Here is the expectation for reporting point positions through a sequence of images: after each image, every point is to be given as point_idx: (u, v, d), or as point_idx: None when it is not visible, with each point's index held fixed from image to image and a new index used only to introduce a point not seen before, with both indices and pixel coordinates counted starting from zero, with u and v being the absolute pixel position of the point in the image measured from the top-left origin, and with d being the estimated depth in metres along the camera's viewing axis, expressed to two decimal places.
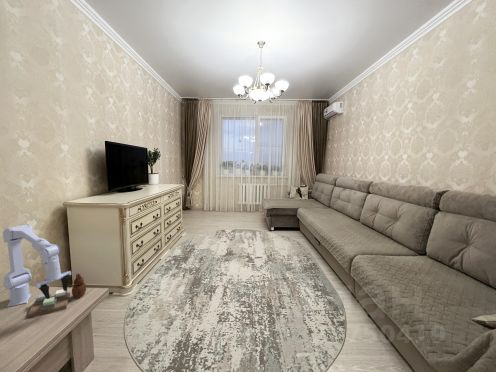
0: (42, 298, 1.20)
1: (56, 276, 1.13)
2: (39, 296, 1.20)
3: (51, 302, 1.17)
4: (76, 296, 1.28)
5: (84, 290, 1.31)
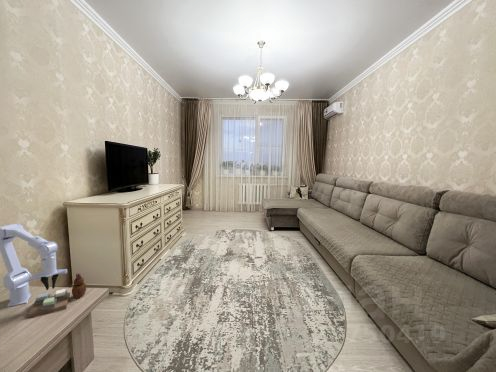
0: (42, 298, 1.20)
1: (47, 273, 1.18)
2: (39, 296, 1.20)
3: (51, 302, 1.17)
4: (76, 296, 1.28)
5: (84, 290, 1.31)
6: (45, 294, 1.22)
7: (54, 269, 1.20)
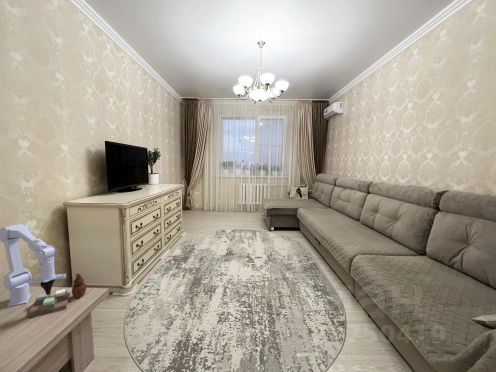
0: (42, 298, 1.20)
1: (45, 278, 1.14)
2: (39, 296, 1.20)
3: (51, 302, 1.17)
4: (76, 296, 1.28)
5: (84, 290, 1.31)
6: (45, 294, 1.22)
7: (52, 274, 1.16)
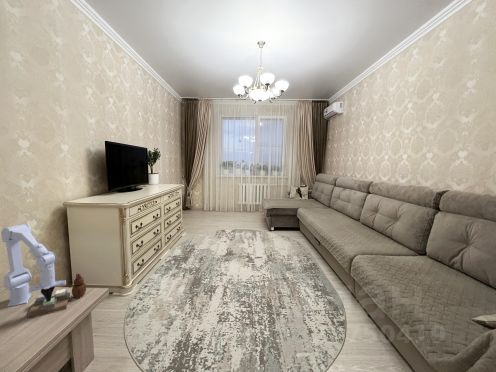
0: (42, 298, 1.20)
1: (46, 285, 1.14)
2: (39, 296, 1.20)
3: (51, 303, 1.17)
4: (76, 296, 1.28)
5: (84, 290, 1.31)
6: None
7: (52, 281, 1.17)
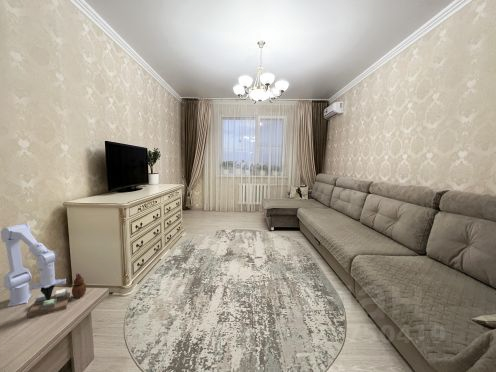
0: (42, 298, 1.20)
1: (46, 284, 1.14)
2: (39, 296, 1.20)
3: None
4: (76, 296, 1.28)
5: (84, 290, 1.31)
6: None
7: (52, 279, 1.17)
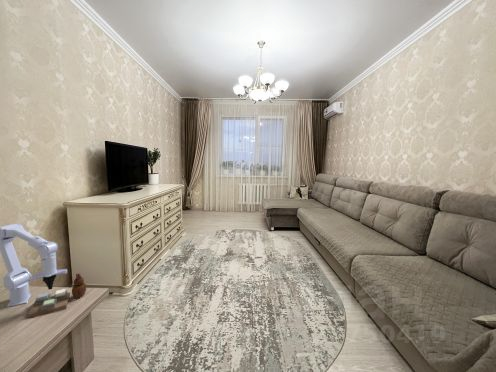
0: (42, 298, 1.20)
1: (47, 273, 1.18)
2: (39, 296, 1.20)
3: None
4: (76, 296, 1.28)
5: (84, 290, 1.31)
6: (45, 294, 1.22)
7: (54, 269, 1.20)
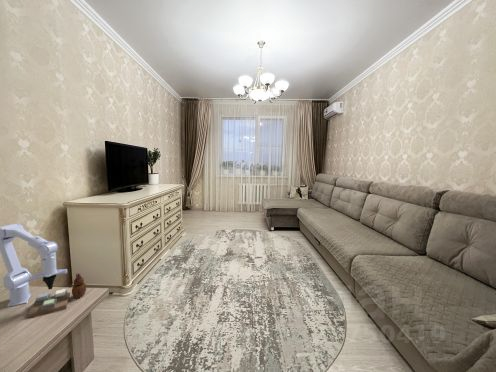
0: (42, 298, 1.20)
1: (47, 273, 1.18)
2: (39, 296, 1.20)
3: None
4: (76, 296, 1.28)
5: (84, 290, 1.31)
6: (45, 294, 1.22)
7: (54, 269, 1.20)
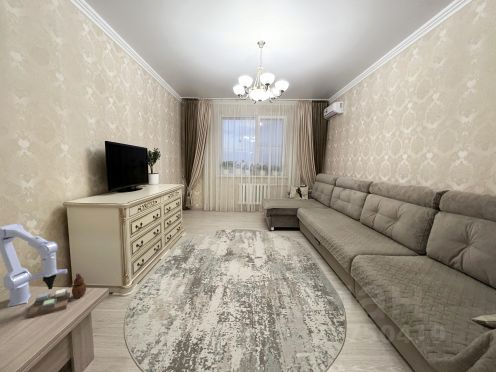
0: (42, 298, 1.20)
1: (47, 273, 1.18)
2: (39, 296, 1.20)
3: None
4: (76, 296, 1.28)
5: (84, 290, 1.31)
6: (45, 294, 1.22)
7: (54, 269, 1.20)
